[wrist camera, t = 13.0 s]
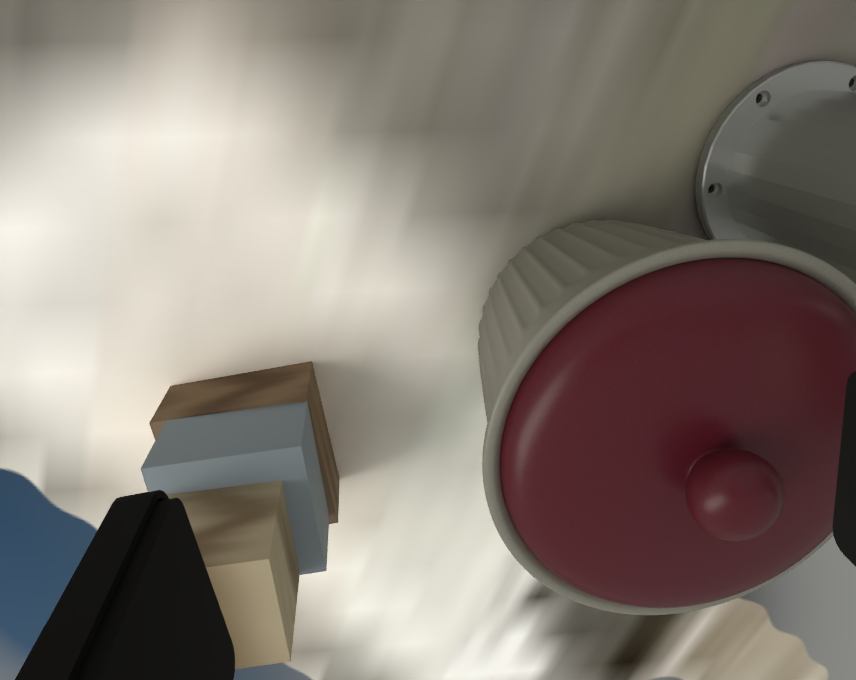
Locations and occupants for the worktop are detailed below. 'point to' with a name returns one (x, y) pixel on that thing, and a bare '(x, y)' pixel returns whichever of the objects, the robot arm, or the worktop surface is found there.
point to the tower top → (249, 465)
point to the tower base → (257, 393)
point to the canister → (663, 412)
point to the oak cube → (249, 566)
